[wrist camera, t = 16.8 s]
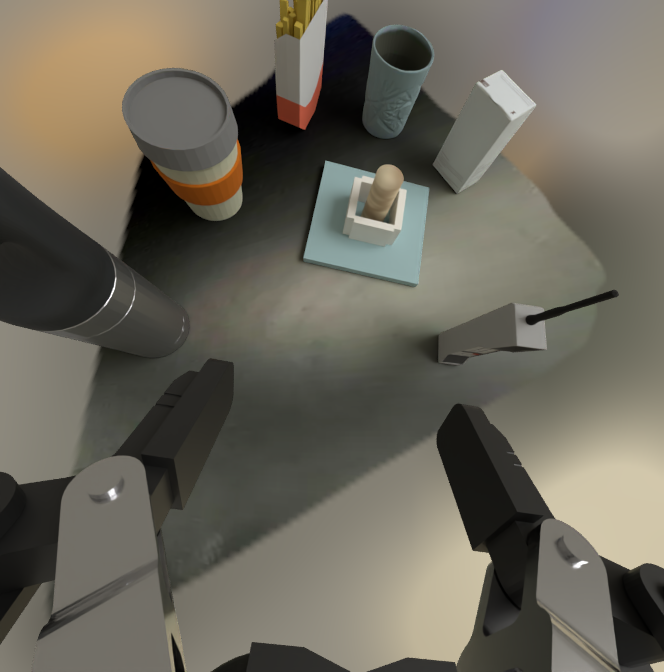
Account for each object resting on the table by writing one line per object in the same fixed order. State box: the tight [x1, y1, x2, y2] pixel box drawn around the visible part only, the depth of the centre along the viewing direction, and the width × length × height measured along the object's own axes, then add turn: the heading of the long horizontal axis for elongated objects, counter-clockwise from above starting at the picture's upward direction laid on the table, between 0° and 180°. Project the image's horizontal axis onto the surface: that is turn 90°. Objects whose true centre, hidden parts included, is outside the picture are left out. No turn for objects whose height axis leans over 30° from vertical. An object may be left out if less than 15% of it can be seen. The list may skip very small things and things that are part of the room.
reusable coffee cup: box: [122, 68, 243, 221], centre depth 39 cm, size 12×12×15 cm
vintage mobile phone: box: [438, 290, 619, 365], centre depth 33 cm, size 4×5×25 cm
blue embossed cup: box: [362, 25, 434, 139], centre depth 48 cm, size 10×10×12 cm
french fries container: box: [274, 0, 328, 130], centre depth 43 cm, size 5×11×18 cm, turn 159°
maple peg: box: [361, 165, 404, 222], centre depth 43 cm, size 4×4×10 cm
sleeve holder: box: [303, 161, 429, 287], centre depth 46 cm, size 20×20×6 cm
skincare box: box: [433, 70, 536, 193], centre depth 47 cm, size 8×6×15 cm
